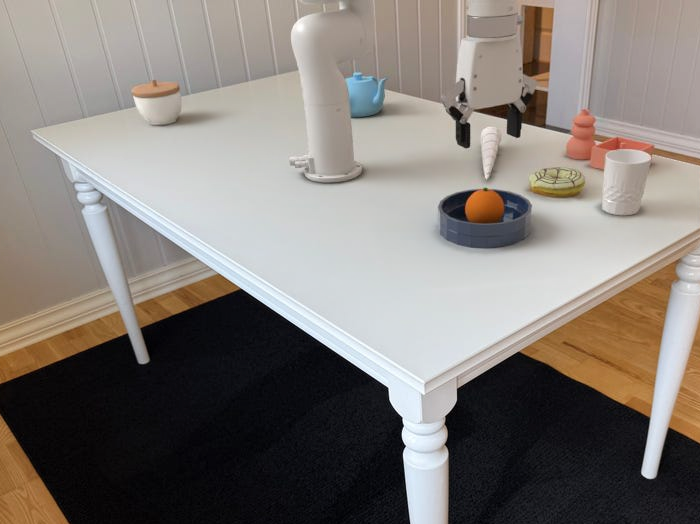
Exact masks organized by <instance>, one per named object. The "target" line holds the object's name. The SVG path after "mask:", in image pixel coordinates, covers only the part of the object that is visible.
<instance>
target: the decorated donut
mask: <svg viewBox="0 0 700 524" xmlns="http://www.w3.org/2000/svg"><path fill="white" fill-rule="evenodd" d="M528 179H529V189H530V190H531V192H532V193H534V194H537V195H541V196H544V197H549V198H558V199H561V198H570V197H576V196H578V195H579V194H580V193H581V192H582V190H584V187H585V184H586V176H585V174H584V173H583V172H581V171H580V170H579V169H575V168H573V167H562V166H561V167H560V166H551V167H545V168H541V169H539V170H537V171H535V172H533V173H532V174H530V176H529V178H528Z"/></svg>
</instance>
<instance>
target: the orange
mask: <svg viewBox="0 0 700 524" xmlns="http://www.w3.org/2000/svg"><path fill="white" fill-rule="evenodd" d="M481 189H482V190H478V191H476V192H474V193H473V194H472V195H471V196H470V197H469V198H468V200H467V203H466V206H465V213H466V216H467V219H468V220H469V222H470V223H482V224H491V223H499V221H500V220H501V219H502V217H503V214H504V203H503V200H502V198H501V197H500V196H499V195H498V194H497V193H496V192H494V191H492V190H489V189H490V188H488V187H483V188H481Z"/></svg>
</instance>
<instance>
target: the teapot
mask: <svg viewBox="0 0 700 524" xmlns="http://www.w3.org/2000/svg"><path fill="white" fill-rule="evenodd" d="M363 74H364V73H363V72H360V71H359V72H358V71H357V72H354V73H352V76H350V77H346V78H344V79H345V80H346V82H347V85H348V90H349V99H350V112H351V118H352V117H353V118H355V117H356V118H361V117H363V118H364V117H369V116H374V115H377V114H378V113H379V112H380V111H381V110H382V109H383V107H384V101H385V97H386V92H385V91H386V90H385V83H386V82H387V80H388V79H389V77H386V78H382V79H380V81H378V78H377V77H376V76H374V75H369V76H363Z"/></svg>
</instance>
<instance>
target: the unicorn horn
mask: <svg viewBox="0 0 700 524" xmlns="http://www.w3.org/2000/svg"><path fill="white" fill-rule="evenodd" d="M501 141H502V133H501V130H500V129H499V128H498V127H496V126H487V127H485V128H484V129H482V131H481V132H480V146H481V147H480V152H481V160H482V161H481V162H482V170H483V175H484V179H485V180H489V178H490V176H491V173H492V170H493V167H494V164H495V162H496V158H497V154H498V152H499V148H500V144H501Z"/></svg>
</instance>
